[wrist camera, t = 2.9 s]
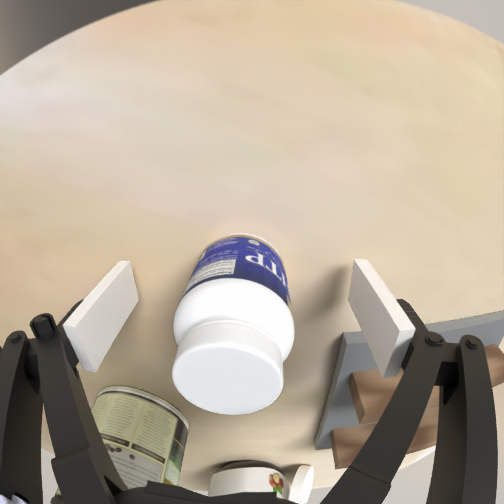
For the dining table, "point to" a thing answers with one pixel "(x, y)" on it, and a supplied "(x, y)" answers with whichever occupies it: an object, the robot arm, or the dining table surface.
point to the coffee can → (140, 436)
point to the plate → (361, 359)
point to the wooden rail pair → (376, 400)
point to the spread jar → (261, 480)
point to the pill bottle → (234, 327)
